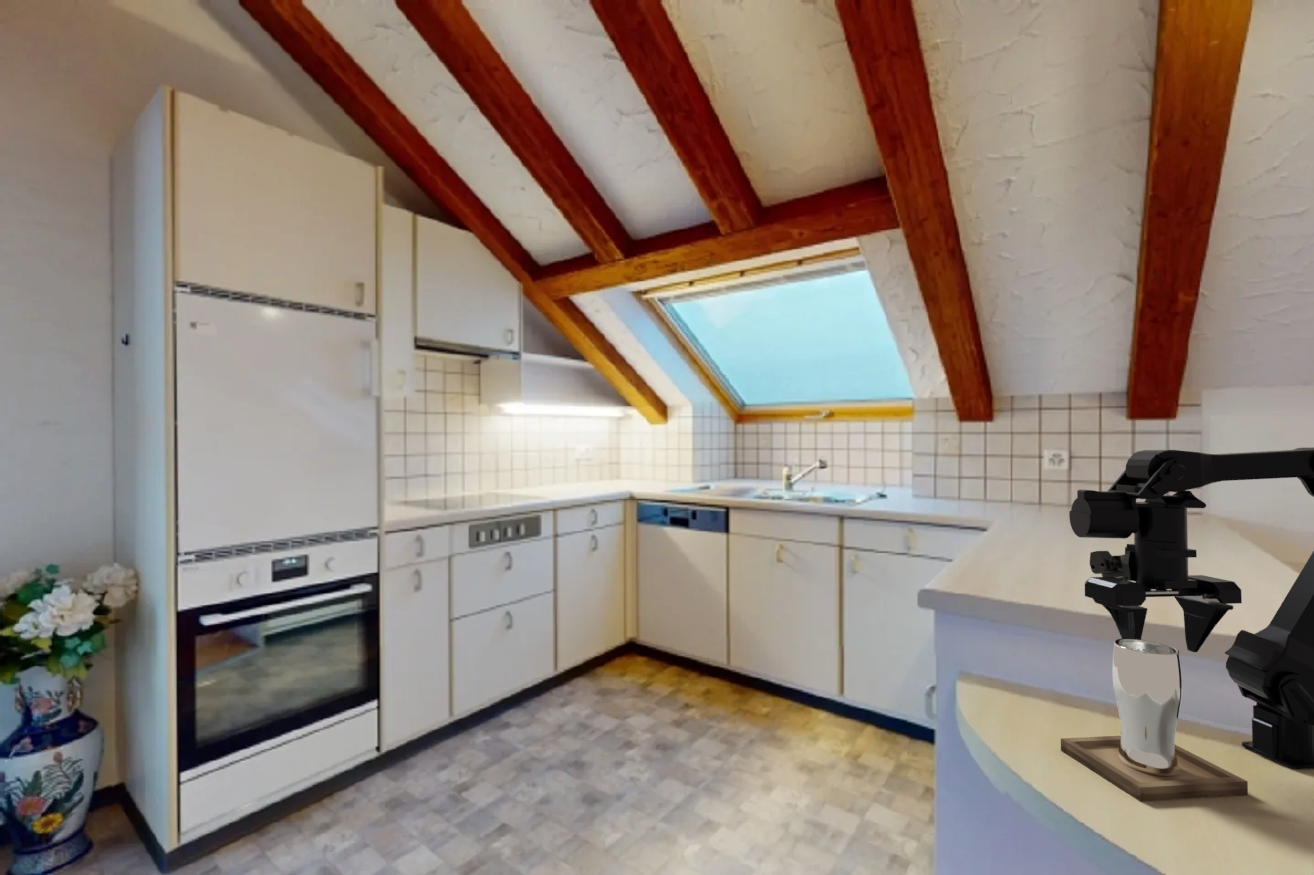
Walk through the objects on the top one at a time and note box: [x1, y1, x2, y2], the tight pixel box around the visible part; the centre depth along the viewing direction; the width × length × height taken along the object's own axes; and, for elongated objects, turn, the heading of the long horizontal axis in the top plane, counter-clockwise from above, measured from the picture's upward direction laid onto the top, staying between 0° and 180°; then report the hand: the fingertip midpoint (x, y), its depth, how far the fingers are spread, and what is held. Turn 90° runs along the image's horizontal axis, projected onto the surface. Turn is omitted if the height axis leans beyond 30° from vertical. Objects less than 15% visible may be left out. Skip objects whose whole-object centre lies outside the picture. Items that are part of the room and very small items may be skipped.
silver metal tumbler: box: [1111, 638, 1183, 776], centre depth 77 cm, size 7×7×15 cm
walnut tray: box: [1060, 735, 1249, 802], centre depth 76 cm, size 14×12×2 cm
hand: (1162, 652), depth 83 cm, fingers open, 9 cm apart
